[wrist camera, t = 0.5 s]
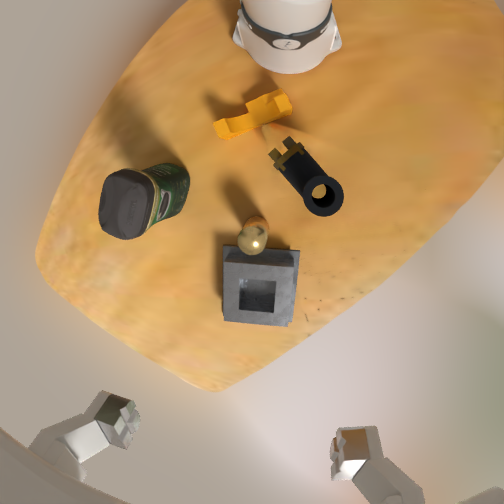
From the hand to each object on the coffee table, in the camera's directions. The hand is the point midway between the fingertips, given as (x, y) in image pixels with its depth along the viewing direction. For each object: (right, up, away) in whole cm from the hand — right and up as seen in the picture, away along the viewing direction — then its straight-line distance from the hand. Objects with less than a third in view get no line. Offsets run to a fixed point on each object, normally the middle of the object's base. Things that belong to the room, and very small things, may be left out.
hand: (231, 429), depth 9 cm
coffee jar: (-15, +19, +41) cm, 47 cm away
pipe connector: (+10, +20, +38) cm, 44 cm away
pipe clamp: (+1, +30, +35) cm, 47 cm away
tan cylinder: (+2, +11, +42) cm, 43 cm away
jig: (+2, +1, +45) cm, 45 cm away
